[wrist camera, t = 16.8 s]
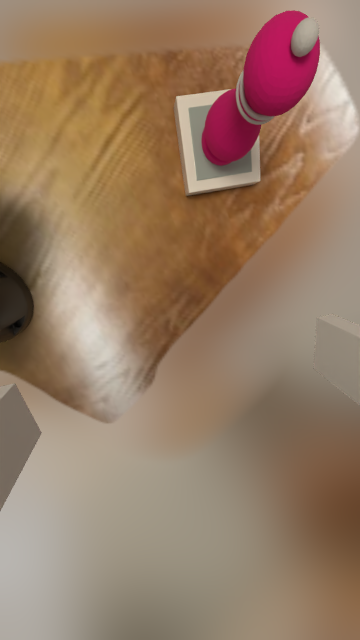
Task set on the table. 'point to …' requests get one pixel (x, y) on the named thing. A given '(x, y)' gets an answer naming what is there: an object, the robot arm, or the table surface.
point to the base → (194, 162)
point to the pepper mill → (263, 86)
